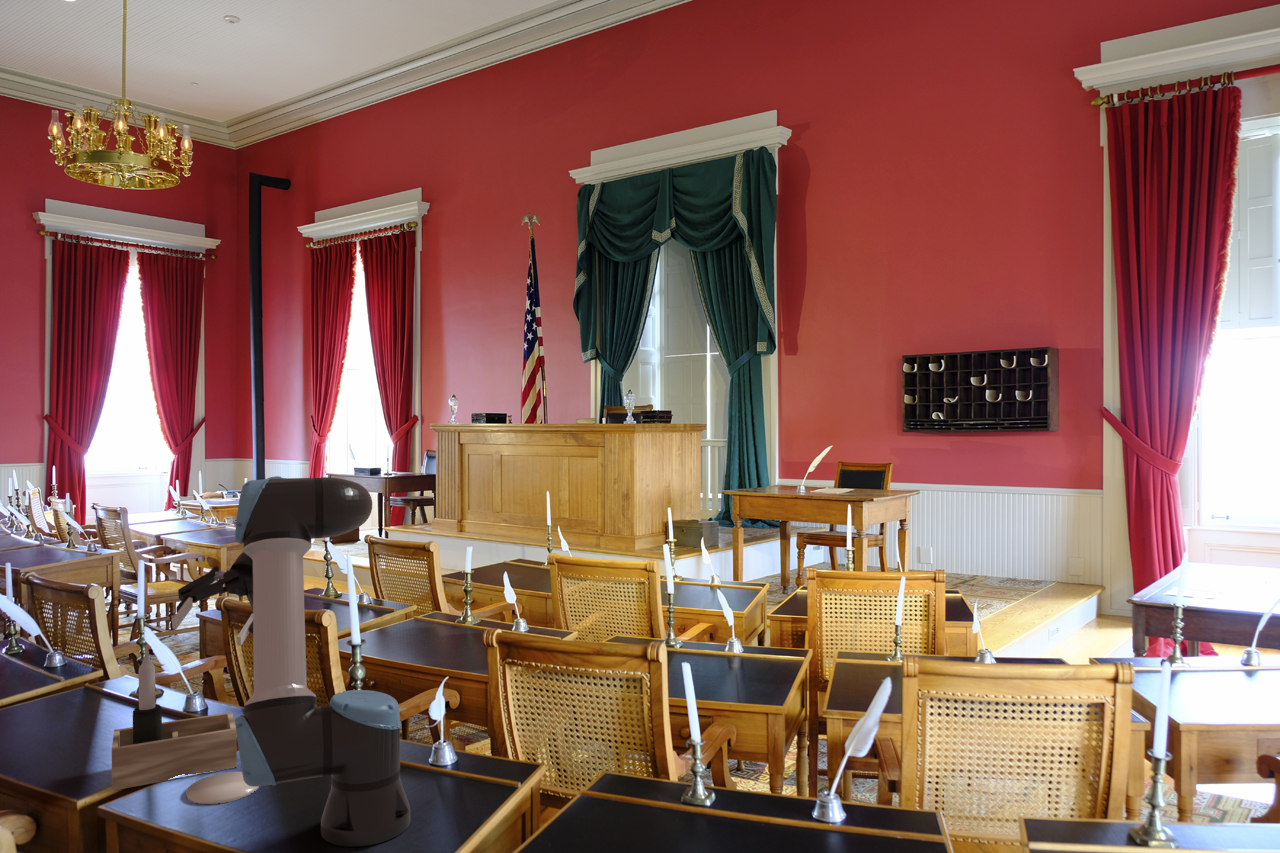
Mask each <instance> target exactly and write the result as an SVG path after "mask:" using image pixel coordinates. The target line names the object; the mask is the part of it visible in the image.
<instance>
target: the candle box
mask: <svg viewBox="0 0 1280 853" xmlns="http://www.w3.org/2000/svg"><path fill="white" fill-rule="evenodd" d="M237 744H238V739H237V732H236V725H235V718H234V714H233V711H229V712H222V713H216V714H210V715H203V716H196V717H191V718H189V717H188V718H183V719H182V718H181V719H178V720H177V719H176V720H172V721H171V720H170V721H165V722H163V721H162V740H158V741H152V742H146V743H140V744H133V726H131V727H123V728H119V729H118V728H117V729H114V730H113V737H112V745H111V791H112V792H113V791H119V790H123V789H128V788H133V787H140V786H141V787H142V786H144V785H150V784H151V785H152V784H157V783H161V782H162V783H163V782H166V781H165V780H168V779H170V778H173V777H175V776H178V775H182V774H185V775H188V774H196V773H203V772H210V771H217V772H219V771H218V770H223V769H228V768H233V767H238V764H237V763H238V759H237V758H238V757H237V756H238V754H237V753H238V752H237V748H238V747H237V746H238V745H237ZM228 770H229V769H228ZM223 771H224V770H223ZM168 781H169V780H168Z"/></svg>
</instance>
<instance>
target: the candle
mask: <svg viewBox="0 0 1280 853" xmlns="http://www.w3.org/2000/svg"><path fill="white" fill-rule="evenodd" d="M143 653H144V657H143V659H142V663H141V665H140V666H139V667H138V706H136V707H135V708H134V710H133V711H132V727H133V744H140V743H146V742H152V741H158V740H162V723H163V719H162V718H163V717H162V716H163V714H162V712H163V710H162V706H161V705H160V704H158V703H156V666H155V665H154V664H153V662H152V659H151V657H150V651H149V650H145V651H144V652H143Z"/></svg>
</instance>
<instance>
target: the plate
mask: <svg viewBox="0 0 1280 853" xmlns="http://www.w3.org/2000/svg"><path fill="white" fill-rule="evenodd" d="M259 788H260V787H259V786H256V787H252V786H249V785H247V784H246V783H245V782H244V780H243V774H242V771H229V772H220V773H216V774H213V775H210V776H207V777H204V778H203V777H202V778H201V779H198V780H197V781H195V782H194V783H191V784H190V785H189V786H188V787H187V789H186V792H185V796H187V797H186V799H187V798H188V799H189V800H188V799H187V800H188V801H189V802H190V801H191V803H192V802H195V803H194V804H196V803H198V804H197V805H204V804H211V805H219V804H218V803H220V804H225V803H226V802H227V803H230V802H231V803H232V802H234V801H238V800H240V798H241V799H244V798H246V797H248V796H251V795H252V794H253V793H255V792H256V791H257V790H259ZM254 791H255V792H254ZM251 793H252V794H251ZM243 797H244V798H243Z"/></svg>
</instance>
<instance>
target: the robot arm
mask: <svg viewBox="0 0 1280 853" xmlns="http://www.w3.org/2000/svg"><path fill="white" fill-rule="evenodd" d="M372 510H373V499H372V496H371V494H370V492H369V490H367V488H366V487H365V486H363V485H362V484H360V483H358V482H355V481H352V480H349V479H345V478H339V477H329V476H327V477H325V476H324V477H297V478H296V477H294V478H293V477H292V478H289V477H287V478H286V477H282V476H278V475H277V476H269V477H267V478H265V479H264V478H263V479H251V480H249V481H246V482H245V483H244V484H243V485H242V487H241V490H240V495H239V501H238V507H237V512H236V524H235V531H234V540H235V543H238V544H240V545H242V544H243V549H242V550H241V551H240V554H239V555H238V556H237V558H236V560H235V561H234V562H233V563H232V564H231V566H230V569H228V570H226V571H223V570H220V568H219V566H214V567H212V568H211V569H210V570H209V571H208V572H207V573H205V574H204V575H202V576H200V577H198V578H197V579H194V580H192V581H191V582H189V583H187V584H186V585H184V586H182V587H180V588H179V589H178V590H177V593H178V600H179V603H178V604H177V606H176V614H175V615H174V616H173V618H172V619H171V626H172V629H173V630H177V629H178V627H179V626H180V625H181V624H182V622H183V621H184V620H185V618H186V616H188V614H189V613H190V612H191V610H192V608H193V607H194V605H193V603H196V602H197V603H198V602H199V601H202V600H204V599H207V598H210V597H213V596H216V595H218V594H220V595H222V594H223V595H224V593H228V594H231V595H236V596H238V597H243V596H246V598H247V601H248V602H249V605H250V607H251V610H252V613H251V614H250V616H249V617H248V619H247V621H246V622H245V624H244V625H243V627H242V628H241V630H240V631H239V633H238V634H237V636H236V644H237V646H239V647H240V646H242V645H243V643H244V642H245V640H246V639H247V637H248V636H249V634H250V633H252V634H253V635H252V638H253V640H252V641H253V642H252V643H253V647H252V648H253V649H252V650H253V653H252V654H253V694H252V696H250V698H249V699H248V700H247V701H246V702H245V703H244V704H243V705H244V706H243V709H244V710H243V714H240V715H239V716H237V717H235V718H234V722H235V726H236V732H237V744H238V745H237V746H238V747H237V748H238V752H239V753H238V754H239V759H240V766H241V772H242V774H243V780H244V782H245V783H246V784H247V785H249V786H252V787H256V786H260V787H262V786H263V787H264V786H271V785H272V786H276V785H279V784H284V783H291V782H292V783H293V782H297V781H303V780H309V779H315V778H320V777H321V778H322V777H327V776H331V780H330V782H331V783H330V784H331V786H330V791H329V793H328V797H327V800H326V802H325V806H324V810H323V812H322V815H321V819H320V835H321V837H322V838H323V840H324V841H326V842H327V843H330V844H332V845H335V846H339V847H351V848H352V847H353V848H355V847H356V848H357V847H366V846H367V847H368V846H372V845H377V844H380V843H384V842H387V841H389V840H392V839H393V838H396V837H398V836H399V835H401V834H402V833H404V832H405V831H406V829H408V828H409V826H410V825H411V805H410V802H409V800H408V797H407V794H406V792H405V789H404V786H403V783H402V780H401V743H400V742H401V729H400V728H401V726H402V722H401V717H400V705H399V703H398V701H397V699H395V698H394V697H393V696H391V695H390V694H387V693H384V692H381V691H376V690H368V689H365V690H364V689H353V690H344V691H342V692H338V693H335V694H334V695H333V696H332V697H331V698H330V700H329V704H325V705H319V706H318V705H317V703H318V702H317V694H315V693H314V692H313V691H311V690H310V689H309V688H308V685H307V682H308V681H307V680H308V679H307V657H306V656H307V654H306V653H307V652H306V651H307V649H306V648H307V647H306V646H307V645H306V622H305V621H306V619H305V618H306V617H305V616H306V615H305V613H306V612H305V611H306V610H305V587H304V586H305V581H304V580H305V578H304V556H305V555H306V554H307V553H308V552H309V551H310V550H311V548H312V540H313V539H328V538H333V537H337V536H341V535H345V534H348V533H350V532H352V531H355V530H356V529H359V528H360V527H362V525H364V524H365V523H366V522H367V521H368V519H369V518H370V516H371V514H372ZM215 581H216V582H215Z"/></svg>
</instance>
